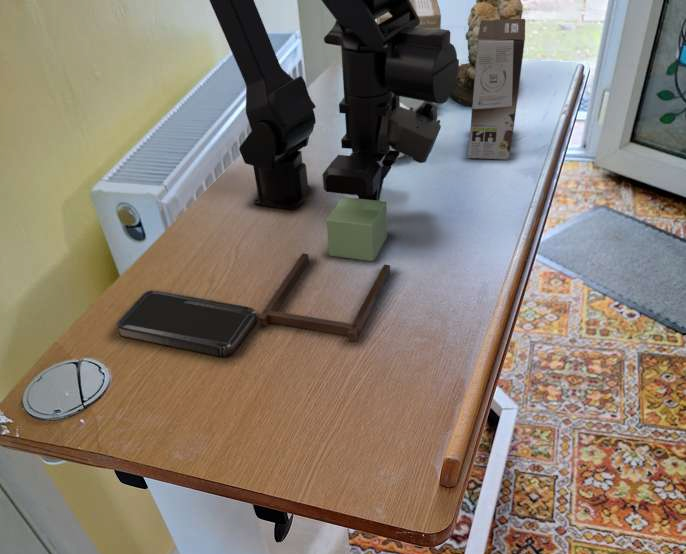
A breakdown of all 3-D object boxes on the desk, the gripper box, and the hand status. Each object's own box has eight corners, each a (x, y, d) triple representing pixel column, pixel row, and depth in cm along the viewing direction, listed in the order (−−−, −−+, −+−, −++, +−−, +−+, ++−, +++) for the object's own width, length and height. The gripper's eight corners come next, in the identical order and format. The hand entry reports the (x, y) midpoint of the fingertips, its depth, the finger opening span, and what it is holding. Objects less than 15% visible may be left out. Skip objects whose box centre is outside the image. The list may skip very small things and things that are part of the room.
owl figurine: (451, 68, 126) (457, -42, 114) (515, 68, 124) (529, -44, 112) (444, 107, 115) (450, -11, 102) (515, 108, 113) (530, -12, 100)
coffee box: (510, 160, 100) (525, 39, 88) (467, 159, 102) (476, 39, 90) (512, 134, 106) (527, 17, 94) (471, 133, 108) (480, 17, 95)
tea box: (438, 114, 113) (442, 12, 102) (378, 117, 114) (376, 17, 103) (431, 80, 123) (434, -15, 112) (377, 84, 124) (374, -11, 113)
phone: (227, 350, 73) (112, 326, 77) (229, 358, 74) (115, 334, 78) (258, 308, 78) (148, 288, 82) (260, 316, 78) (151, 295, 83)
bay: (259, 325, 77) (258, 317, 77) (303, 261, 86) (302, 253, 85) (354, 342, 74) (354, 333, 73) (390, 273, 83) (390, 264, 82)
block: (329, 255, 86) (326, 219, 83) (344, 231, 90) (342, 196, 86) (373, 261, 85) (372, 225, 81) (387, 237, 88) (386, 201, 85)
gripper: (414, 126, 70) (412, 258, 82) (453, 62, 82) (447, 186, 94) (315, 119, 73) (327, 247, 85) (366, 58, 85) (370, 178, 96)
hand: (372, 213), depth 90 cm, fingers closed
